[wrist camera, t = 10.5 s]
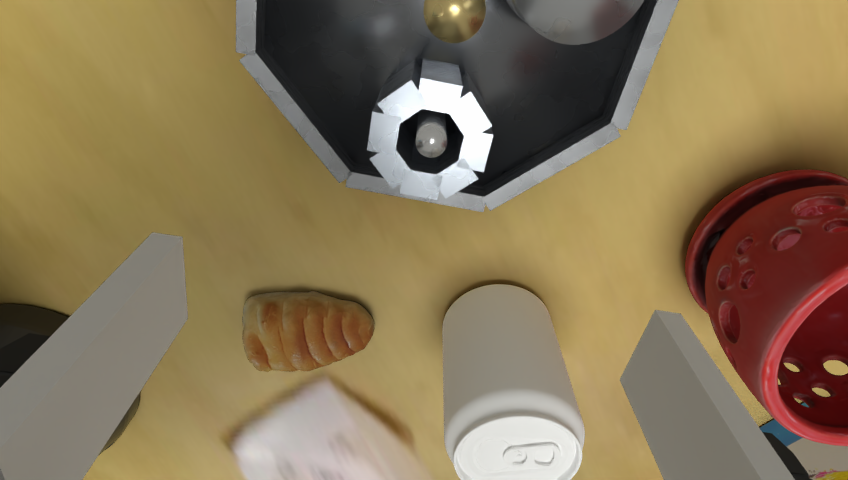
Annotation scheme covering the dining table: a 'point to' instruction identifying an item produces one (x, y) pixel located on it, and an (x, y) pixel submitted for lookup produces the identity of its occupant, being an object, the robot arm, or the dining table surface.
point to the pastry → (302, 330)
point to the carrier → (474, 52)
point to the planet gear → (397, 147)
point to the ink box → (813, 453)
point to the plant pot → (781, 294)
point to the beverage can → (507, 390)
